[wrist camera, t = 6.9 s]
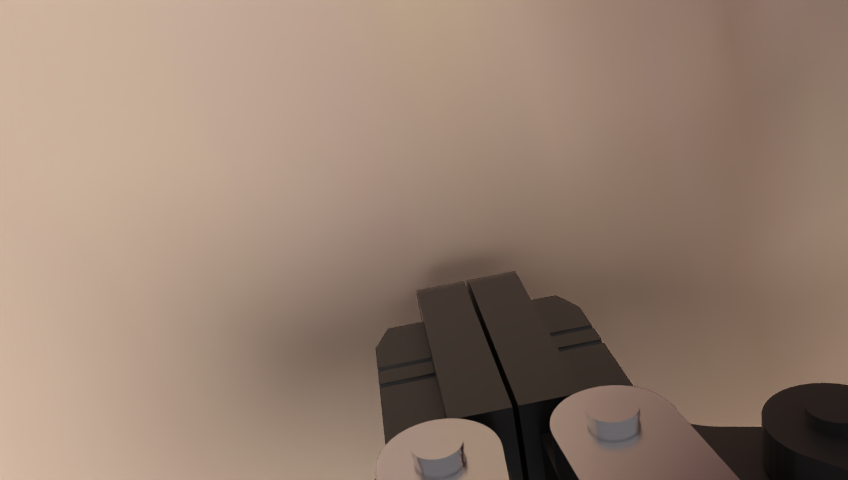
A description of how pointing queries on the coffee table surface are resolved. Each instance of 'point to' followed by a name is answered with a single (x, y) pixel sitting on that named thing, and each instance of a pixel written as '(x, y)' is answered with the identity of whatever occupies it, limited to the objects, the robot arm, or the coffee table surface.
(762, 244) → the coffee table surface
